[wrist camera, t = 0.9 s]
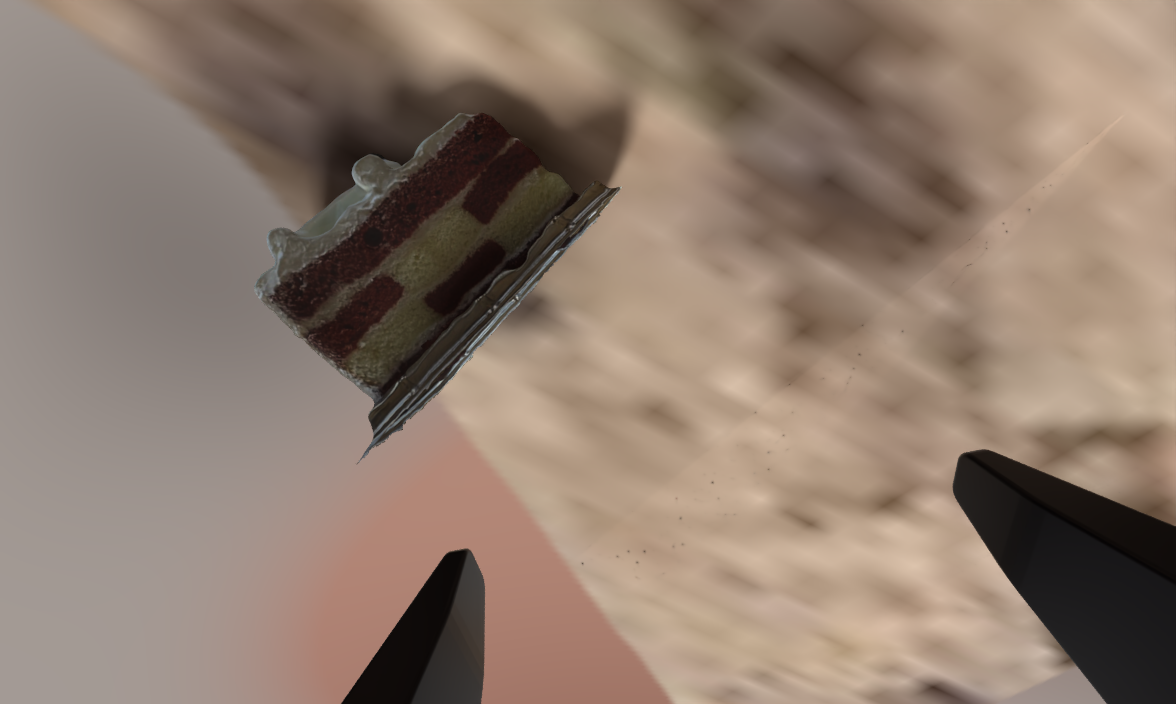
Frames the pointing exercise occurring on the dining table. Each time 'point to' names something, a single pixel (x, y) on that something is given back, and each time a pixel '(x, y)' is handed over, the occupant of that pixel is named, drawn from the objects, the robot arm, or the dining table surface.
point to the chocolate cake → (424, 261)
